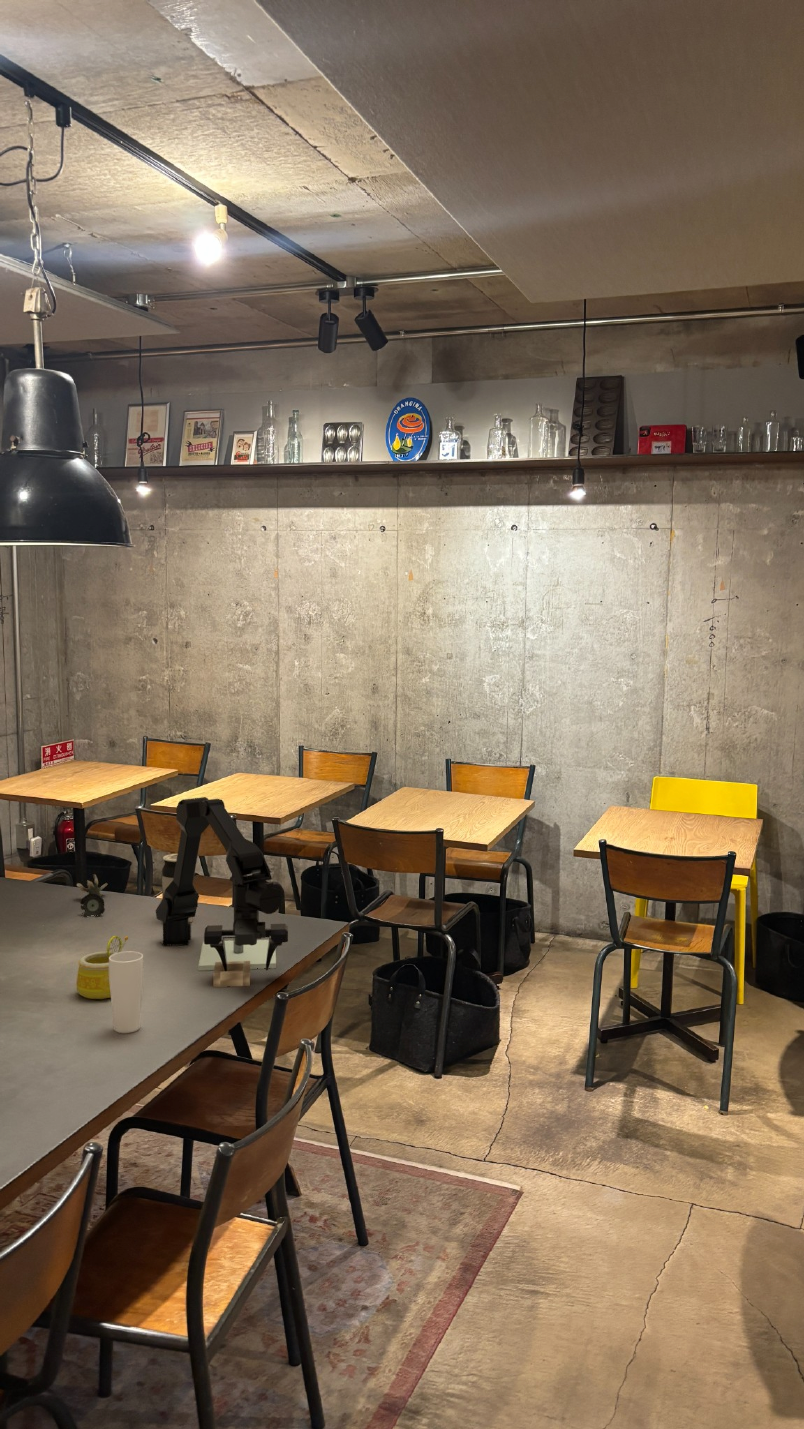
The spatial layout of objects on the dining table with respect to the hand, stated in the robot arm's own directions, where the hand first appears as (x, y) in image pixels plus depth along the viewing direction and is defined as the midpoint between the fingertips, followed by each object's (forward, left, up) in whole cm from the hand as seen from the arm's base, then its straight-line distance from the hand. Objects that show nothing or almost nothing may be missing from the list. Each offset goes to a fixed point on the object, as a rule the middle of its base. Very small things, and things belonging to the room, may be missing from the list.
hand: (246, 970), depth 235 cm
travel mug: (-19, +46, -2) cm, 50 cm away
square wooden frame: (-3, 0, -2) cm, 4 cm away
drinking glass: (-23, -26, -2) cm, 35 cm away
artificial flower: (-45, +64, -3) cm, 78 cm away
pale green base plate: (-2, +16, -2) cm, 16 cm away
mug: (-30, -5, -2) cm, 31 cm away
